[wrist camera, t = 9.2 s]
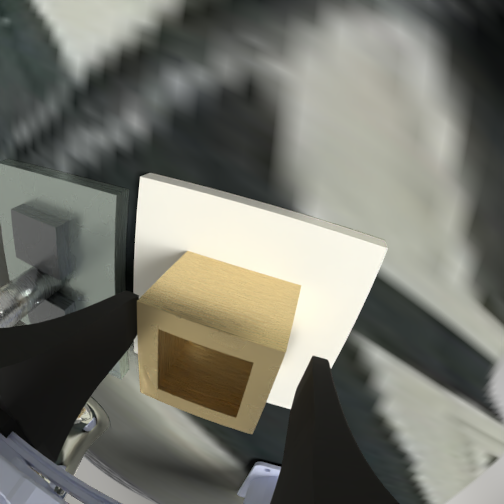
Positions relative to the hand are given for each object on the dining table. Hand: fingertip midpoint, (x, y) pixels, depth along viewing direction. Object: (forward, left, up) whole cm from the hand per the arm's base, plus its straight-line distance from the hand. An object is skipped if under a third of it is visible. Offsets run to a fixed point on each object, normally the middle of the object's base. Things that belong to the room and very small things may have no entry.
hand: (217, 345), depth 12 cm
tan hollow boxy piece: (0, 0, -2) cm, 2 cm away
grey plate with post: (+11, +2, -3) cm, 12 cm away
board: (0, 0, -3) cm, 3 cm away
